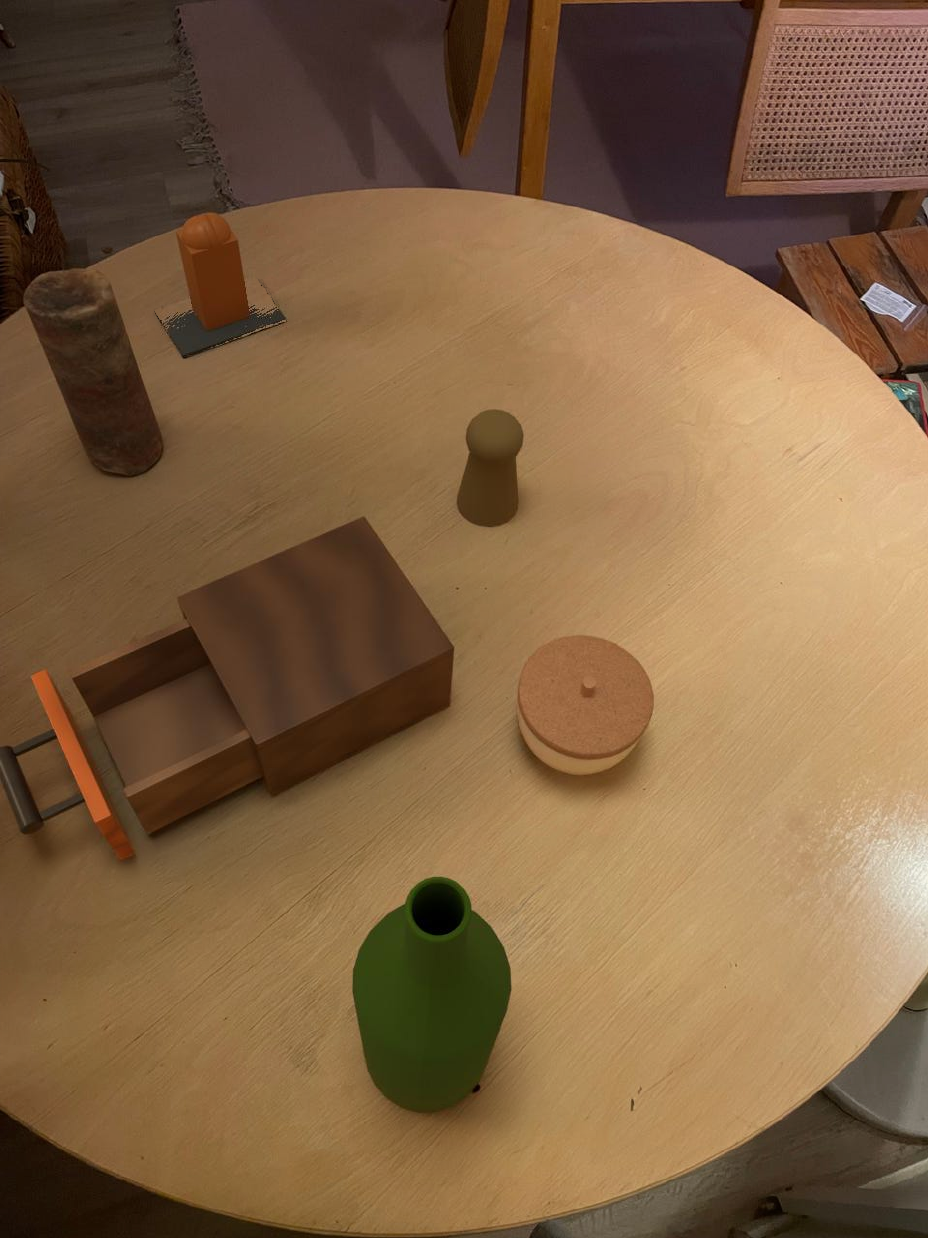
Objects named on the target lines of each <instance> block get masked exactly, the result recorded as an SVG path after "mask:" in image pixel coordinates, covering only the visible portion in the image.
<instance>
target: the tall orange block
mask: <svg viewBox="0 0 928 1238" xmlns="http://www.w3.org/2000/svg"><path fill="white" fill-rule="evenodd" d="M175 235H176V240H177V243H178V249H179V253H180V258H181V262H182V267H183V271H184V276H185V281H186V286H187V290H188V295H189V297H190V299H191V304H192V308H193V311H194V312H195V314H196V315H197V317H198V318H199V320H200V321H201V323H202V324H203V326H204V327H205V329H206V330H207V331H211V330H214V329H217V328H220V327H223V326H225V325H228V324H231V323H234V322H237V321H240V320H242V319H245V318H248V317H250V312H249V306H248V300H247V294H246V287H245V281H244V279H245V276H244V270H243V264H242V263H243V262H242V257H241V251H240V245H239V238H237V236H236V235H235V234H234V232H233V231H232V228H231V227H230V224H229V222H228V221H227V220H226V218H224V217H223V216H221V215H220V214H218V213H217V212H203V213H199V214H196V215H194V216H192V217H190V218H189V219H187V220H186V221H185V222H184V224H183V226H182V229H179V230H176V231H175Z"/></svg>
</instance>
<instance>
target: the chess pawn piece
mask: <svg viewBox="0 0 928 1238" xmlns="http://www.w3.org/2000/svg"><path fill="white" fill-rule="evenodd" d="M524 438H525V437H524V431H523V427H522V424H521V423H520V421H519V420H518V419H517V417H516V416H514V415H513V414H511V413H510V412H508V411H506V410H502V409H495V408H493V409H485V410H484V411H481V412H479V413H478V414H476V415H475V416H474V417H472V419H471V420H470V422H469V423H468V424H467V427H466V432H465V443H466V446H467V449H468V451H469V452H468V457H467V460H466V464H465V467H464V470H463V475H462V478H461V482H460V486H459V489H458V493H457V497H456V505H457V510H458V511H459V512H460V515H462V517H463V518H464V519H466V520H467V521H468V522H470V523H471V524H475V525H477V526H480V527H488V528H491V527H492V528H493V527H498V526H501V525H503V524H506V523H508V522H509V521H510V520H512V519H513V518H514V517H515V516H516V513H517V512H518V509H519V488H518V469H517V468H518V467H517V457H518V455H519V453H520V451H521V449H522V448H523V444H524Z"/></svg>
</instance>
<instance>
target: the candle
mask: <svg viewBox="0 0 928 1238" xmlns="http://www.w3.org/2000/svg"><path fill="white" fill-rule="evenodd" d="M23 292H24V293H23V297H22V301H23V305H24V307H25V309H26V312H27V315H28V316H29V319H30V321H31V323H32V325H33V328H34V331H35V333H36V335H37V338H38V341H39V343H40V345H41V347H42V349H43V352H44V355H45V357H46V359H47V362H48V364H49V366H50V369H51V372H52V374H53V376H54V378H55V381H56V383H57V386H58V388H59V391H60V394H61V396H62V398H63V402H64V403H65V406H66V409H67V411H68V413H69V416H70V418H71V421H72V424H73V426H74V428H75V431H76V433H77V435H78V438H79V440H80V443H81V446H82V447H83V449H84V452H85V453H86V455H87V458H88V459H89V461H91V462H92V463H93V464H94V465H95V466H97V468H99V469H101V470H102V471H105V472H109V473H113V474H118V475H119V474H120V475H123V476H124V475H125V476H126V477H131V476H132V477H133V476H138V475H140V474H142V473H144V472H146V471H147V470H148V469H149V468H150V467H151V466H152V465H153V464H155V463H156V462H157V460H158V459H159V458H160V456H161V453H162V446H163V435H162V432H161V429H160V427H159V423H158V421H157V417H156V414H155V411H154V409H153V406H152V403H151V399H150V397H149V393H148V390H147V388H146V386H145V383H144V379H143V377H142V374H141V371H140V368H139V364H138V362H137V359H136V356H135V353H134V351H133V347H132V345H131V341H130V337H129V334H128V332H127V329H126V326H125V323H124V319H123V316H122V313H121V311H120V308H119V305H118V302H117V299H116V295H115V293H114V289H113V287H112V284H111V282H110V279H109V278H108V276H106V275H105V274H104V273H102V272H101V271H100V270H99V269H97V268H93V269H88V268H70V269H65V270H55V271H53V270H52V271H46V272H45V273H41V274H40V275H38V276H37V277H35V278H34V279H33V280H32V281H31V282H30V284H29V285H27V288H26V289H25V290H24V291H23Z"/></svg>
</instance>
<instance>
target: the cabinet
mask: <svg viewBox="0 0 928 1238" xmlns="http://www.w3.org/2000/svg"><path fill="white" fill-rule="evenodd" d="M176 601H177V603H178V607H179V609H180V613H181V615H182V618H183V619H182V620H184V619H186V618H187V620H188V622H189V624H190V626H191V628H192V629H193V631H194V633H195V635H196V637H197V639H198V641H199V642H200V644H201V646H202V648H203V650H204V652H205V653H206V655H207V657H208V659H209V661H210V663H211V664H212V666H213V668H214V670H215V672H216V674H217V676H218V677H219V679H220V681H221V683H222V685H223V687H224V688H225V690H226V692H227V694H228V696H229V698H230V699H231V701H232V703H233V705H234V707H235V709H236V711H237V712H238V714H239V716H240V718H241V720H242V722H243V723H244V725H245V727H246V729H247V731H248V733H249V734H250V736H251V738H252V740H253V743H254V746H255V750H256V753H257V757H258V760H259V764H260V767H261V771H262V774H263V777H261V778H260V779H261V781H262V783H263V785H264V787H265V789H266V790H267V792H268V794H269V796H270V798H273V797H275V796H277V795H279V794H280V793H282V792H285V791H286V790H288V789H290V788H292V787H294V786H296V785H298V784H301V783H302V782H304V781H306V780H308V779H309V778H312V777H313V776H316V775H318V774H320V773H322V772H324V771H325V770H328V769H330V768H331V767H333V766H335V765H337V764H339V763H342V762H343V761H345V760H347V759H349V758H351V757H353V756H355V755H356V754H357V755H358V754H359V753H361V752H363V751H364V750H366V749H368V748H370V747H373V746H374V745H376V744H378V743H381V742H382V741H384V740H386V739H388V738H390V737H392V736H394V735H396V734H398V733H399V732H401V731H403V730H406V729H408V728H409V727H411V726H413V725H415V724H417V723H419V722H421V721H423V720H426V719H427V718H429V717H431V716H432V715H435V714H437V713H439V712H440V711H443V710H444V709H446V708H448V707H450V706H451V697H452V685H453V670H454V658H455V657H454V656H455V646H454V644H453V643H452V642H451V640H450V639H449V638H448V636H447V634H446V633H445V631H444V630H443V628H442V627H441V625H440V624H439V622H438V621H437V619H436V618H435V617H434V615H433V613H431V611H430V609H429V608H428V606H427V605H426V604H425V602H424V601H423V599H422V598H421V596H420V595H419V593H418V592H417V591H416V589H415V588H414V586H413V585H412V583H411V582H410V580H409V579H408V577H407V575H405V572H404V571H403V570H402V569H401V567H400V566H399V564H398V563H397V561H396V560H395V558H394V557H393V555H392V554H391V553H390V550H389V549H388V548H387V546H386V545H385V544H384V543H383V540H382V539H381V537H379V535H378V534H377V532H376V530H375V529H374V527H372V525H371V523H370V522H369V520H368V519H367V518H366V516H365V515H364V516H361V517H359V518H356V519H354V520H352V521H350V522H347V523H344V524H343V525H340V526H338V527H336V528H333V529H331V530H329V531H326V532H323V533H322V534H320V535H317V536H315V537H313V538H310V539H308V540H306V541H303V542H301V543H299V544H296V545H294V546H292V547H290V548H287V549H285V550H283V551H281V552H278V553H275V554H274V555H271V556H269V557H267V558H263V559H262V560H260V561H257V562H254V563H252V564H250V565H247V566H246V567H244V568H241V569H239V570H236V571H234V572H232V573H230V574H227V575H225V576H223V577H220V578H218V579H216V580H213V581H211V582H208V583H206V584H203V585H202V586H199V587H197V588H195V589H192V590H190V591H187V592H186V593H183V594H181V595H179V596H176Z"/></svg>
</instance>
